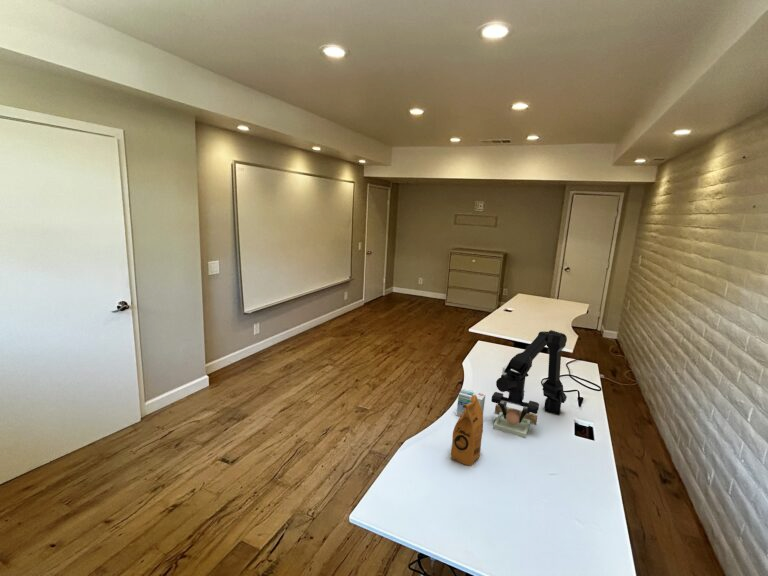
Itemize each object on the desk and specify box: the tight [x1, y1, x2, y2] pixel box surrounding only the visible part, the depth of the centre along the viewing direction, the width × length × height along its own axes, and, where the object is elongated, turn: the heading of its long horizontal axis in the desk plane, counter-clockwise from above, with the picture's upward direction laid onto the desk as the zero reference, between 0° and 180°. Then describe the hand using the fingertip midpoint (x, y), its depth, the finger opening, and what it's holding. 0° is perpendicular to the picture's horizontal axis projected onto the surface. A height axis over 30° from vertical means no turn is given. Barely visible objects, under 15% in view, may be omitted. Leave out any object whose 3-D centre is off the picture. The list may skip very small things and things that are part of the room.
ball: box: [506, 410, 520, 424], centre depth 164 cm, size 6×6×6 cm
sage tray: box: [492, 412, 531, 439], centre depth 165 cm, size 13×13×2 cm
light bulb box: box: [456, 388, 486, 418], centre depth 170 cm, size 11×7×11 cm, turn 62°
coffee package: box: [450, 395, 484, 467], centre depth 140 cm, size 10×12×22 cm
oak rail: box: [494, 403, 539, 426], centre depth 171 cm, size 18×2×4 cm, turn 61°
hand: (512, 420), depth 164 cm, fingers closed on ball, 6 cm apart
